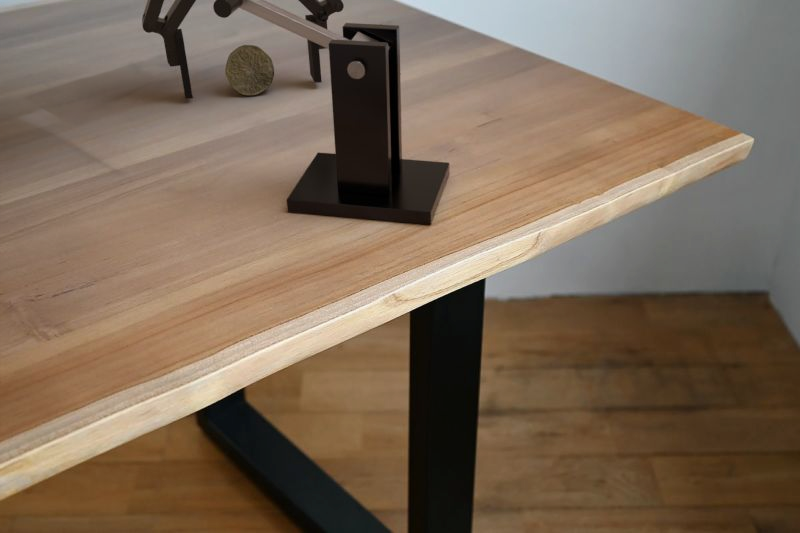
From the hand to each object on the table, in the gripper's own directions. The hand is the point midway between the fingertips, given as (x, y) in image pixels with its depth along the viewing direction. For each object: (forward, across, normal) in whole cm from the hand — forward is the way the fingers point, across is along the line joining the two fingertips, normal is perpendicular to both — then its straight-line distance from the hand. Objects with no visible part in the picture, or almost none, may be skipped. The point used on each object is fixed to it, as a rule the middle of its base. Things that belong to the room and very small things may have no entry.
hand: (253, 86), depth 97 cm
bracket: (+1, +7, -26) cm, 27 cm away
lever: (-12, +2, -24) cm, 27 cm away
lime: (+1, 0, 0) cm, 1 cm away
